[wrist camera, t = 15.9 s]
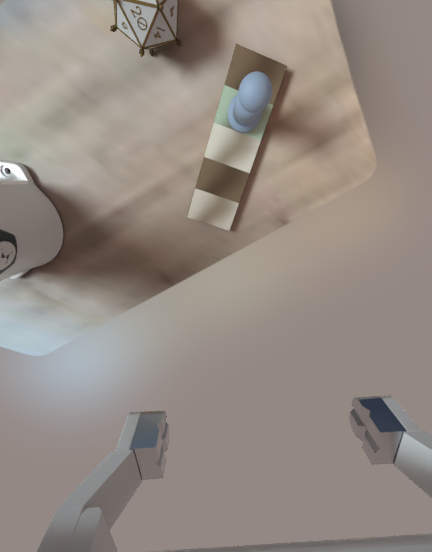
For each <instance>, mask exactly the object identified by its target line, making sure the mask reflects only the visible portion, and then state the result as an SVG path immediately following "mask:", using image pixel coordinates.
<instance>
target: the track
mask: <svg viewBox="0 0 432 552" xmlns="http://www.w3.org/2000/svg"><path fill="white" fill-rule="evenodd" d="M286 68H287V66H286V65H284V64H281V63H279V62H277V61H275V60H272V59H270V58H268V57H265V56H263V55H261V54H259V53H256V52H254V51H252V50H249V49H247V48H245V47H242V46H240V45H238V44H236V46H235V50H234V53H233V57H232V61H231V64H230V68H229V71H228V75H227V78H226V82H225V85H224V89H223V92H222V96H221V99H220V103H219V107H218V110H217V114H216V117H215V121H214V124H213V128H212V131H211V135H210V138H209V142H208V145H207V149H206V153H205V156H204V160H203V163H202V167H201V170H200V174H199V177H198V181H197V184H196V188H195V191H194V195H193V199H192V202H191V206H190V209H189V213H188V216H187V217H188V218H191V219H194V220H197V221H200V222H203V223H207V224H210V225H213V226H216V227H219V228H222V229H225V230H228V231H230V228H231V225H232V222H233V219H234V216H235V213H236V211H237V208H238V205H239V202H240V199H241V196H242V193H243V191H244V188H245V185H246V182H247V179H248V176H249V173H250V171H251V168H252V165H253V162H254V159H255V156H256V153H257V151H258V148H259V145H260V142H261V139H262V136H263V133H264V131H265V128H266V125H267V122H268V119H269V116H270V113H271V111H272V108H273V105H274V102H275V99H276V96H277V93H278V91H279V88H280V85H281V82H282V79H283V76H284V73H285V70H286ZM255 71H259V72H262V73H264V74H266V75H267V76H268V78H269V79H270V81H271V84H272V97H271V100H270V102H269V104H268V105H267V107H266V108H265V109H263V110H262V113H261V118H260V120H259V122H258V124H257V125H256V126H255V127H254V128H253V129H252V130H251V131H249V132H247V133H239V132H237V131H235V130H234V129H233V128H232V127H231V126H230V124H229V122H228V117H227V113H228V108H229V105H230V102H231V100H232V99H233V98H234V97H235V96H236V95H237V94H238V92H239V86H240V84H241V82H242V80H243V79H244V77H245V76H247V75H248V74H249V73H251V72H255Z"/></svg>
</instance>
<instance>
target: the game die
mask: <svg viewBox="0 0 432 552" xmlns="http://www.w3.org/2000/svg"><path fill="white" fill-rule="evenodd" d="M113 1H114V14H115V25H113V26H111V29H110V31H113V32H115V31H116V29H119V30H120V31H121V32H122V33H123V34H125V35H126V36H127V37H128V38H129V39H131V40H132V41H133V42H134V43H135V44H137V45H138V46H139V47H140V48H141V49H140V52H139V53H140V55H141V57H142V56H143V55H144V49H150V50H149V51H150V54H151V56H152V55H153V54H154V52H153V51H154V50H153V49H154V48H157V47H160V46H163V45H166V44H169V43H172V42H175V41H176V43H177V44H178V46H182V43H181V41H180V40H179V39H177V30H178V4H179V0H113ZM182 47H183V46H182Z"/></svg>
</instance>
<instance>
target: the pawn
mask: <svg viewBox="0 0 432 552" xmlns="http://www.w3.org/2000/svg"><path fill="white" fill-rule="evenodd" d="M271 97H272V84H271V81H270V79H269V78H268V76H267V75H266V74H264V73H262V72H259V71H255V72H251V73H249V74H248V75H247V76H245V77H244V79H243V80H242V82H241V84H240V86H239V92H238V94H237V95H236V96H235V97H234V98H233V99H232V100H231V102H230V105H229V108H228V113H227V117H228V122H229V124H230V126H231V127H232V128H233V129H234V130H235V131H237V132H239V133H247V132H249V131H251V130H252V129H253V128H254V127H255V126H256V125H257V124H258V122H259V120H260V118H261V113H262V110H263V109H265V108H266V107H267V105H268V104H269V102H270V100H271Z"/></svg>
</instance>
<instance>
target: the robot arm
mask: <svg viewBox="0 0 432 552" xmlns="http://www.w3.org/2000/svg"><path fill="white" fill-rule="evenodd" d="M8 169H10V171H11V173H9V172H8ZM62 242H63V227H62V223H61V219H60V217H59V214H58V212H57V210H56V209H55V207H54V205H53V204H52V203H51V201H50V200H49V199H48V198H47V197H46V196H45V195H44V194H43V193H42V192H41V191H40V190H39V189H38V187H37V186H36V185H35V183H34V181H33V179H32V177H31V175H30V173H29V172H28V170H27V169H26V167H25V166H23V165H22V164H20V163H15V162H7V161H0V281H1V280H3V279H6V278H11V279H16V278H19V277H22V276H23V275H24V274H26V273H27V272H28V271H29V270H30V269H32V268H35V267H38V266H42V265H44V264H46V263H48V262H50V261H51V260H52V259H53V258H54V257H55V256H56V255H57V254H58V252H59V250H60V248H61V246H62ZM352 406H353V407H354V409H353V410H352V411H351V412H350V424H351V427H352V429H353V432H354V433H355V435H356V437H357V438H359V439H360V440H361V441H363V446H362V448H363V449H364V451H365V453H366V455H367V456H368V458H369V460H370V462H371V464H394V466H396V467H397V468H398V469H399V470H400V471H401V472H402V473H404V474H405V475H406V476H407V477H408V478H409V479H410V480H412V481H413V482H414V483H415V484H416V485H417V486H419V487H420V488H421V489H422V490H423V491H424V492H425V493H427V494H428V495H429V496H430V497H431V498H432V434H430V433H428V432H427V431H421V430H420V429H419V427H418V426H417V425H416V424H415V423H414V421H413V420H412V419H411V418H410V417H409V416H408V414H407V413H406V412H405V411H404V410H403V408H402V407H401V406H400V405H399V404H398V402H397V401H396V400H395V399H394V398H393V397H392V396H390V395H389V396H372V397H359V398H354V399H353V400H352ZM166 417H167V416H166V412H165V411H149V412H131V413H130V414H129V415H128V417H127V420H126V423H125V425H124V428H123V431H122V434H121V437H120V440H119V442H118V445H117V448H116V451H112V452H111V453H110V454H109V455H108V456H107V457H106V458H105V459H104V460H103V461H102V462H101V463H100V464H99V465H98V466H97V467H96V468H95V469H94V471H92V472H91V474H90V475H89V476H88V477H87V478H86V479H85V480H84V481H83V482H82V483H81V484H80V485H79V486H78V487H77V488H76V489H75V490H74V491H73V492H72V493H71V495H69V497H67V499H66V500H65V501H64V502H63V503H62V504H61V505H60V506H59V507H58V508H57V510H56V512H55V514H54V516H53V518H52V521H51V523H50V525H49V527H48V529H47V531H46V533H45V536H44V538H43V540H42V542H41V544H40V546H39V548H38V551H37V552H117V548H116V546H115V543H114V541H113V538H112V536H111V534H110V531H109V530H110V529H111V527H112V526H113V524H114V523H115V521H116V520H117V518H118V517H119V515H120V514H121V512H122V511H123V509H124V508H125V506H126V505H127V503H128V502H129V500H130V499H131V497H132V496H133V494H134V493H135V491H136V489H137V488H138V487H139V485H140V484H141V482H142V480H148V479H158V478H163V476H164V469H165V463H166V458H165V452H166V450H167V449H168V444H169V426H168V424H167V423H166ZM151 552H152V551H151ZM153 552H432V534H416V535H400V536H385V537H369V538H355V539H354V538H353V539H338V540H324V541H306V542H291V543H275V544H261V545H246V546H245V545H244V546H231V547H230V546H229V547H215V548H214V547H213V548H198V549H183V550H167V551H153Z"/></svg>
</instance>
